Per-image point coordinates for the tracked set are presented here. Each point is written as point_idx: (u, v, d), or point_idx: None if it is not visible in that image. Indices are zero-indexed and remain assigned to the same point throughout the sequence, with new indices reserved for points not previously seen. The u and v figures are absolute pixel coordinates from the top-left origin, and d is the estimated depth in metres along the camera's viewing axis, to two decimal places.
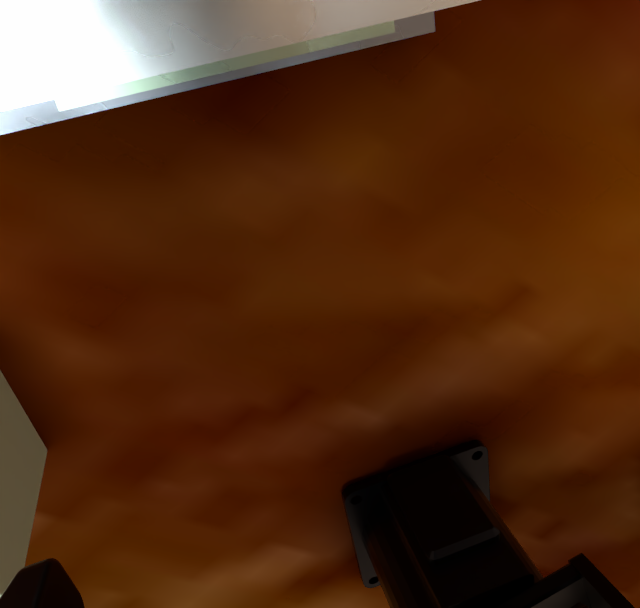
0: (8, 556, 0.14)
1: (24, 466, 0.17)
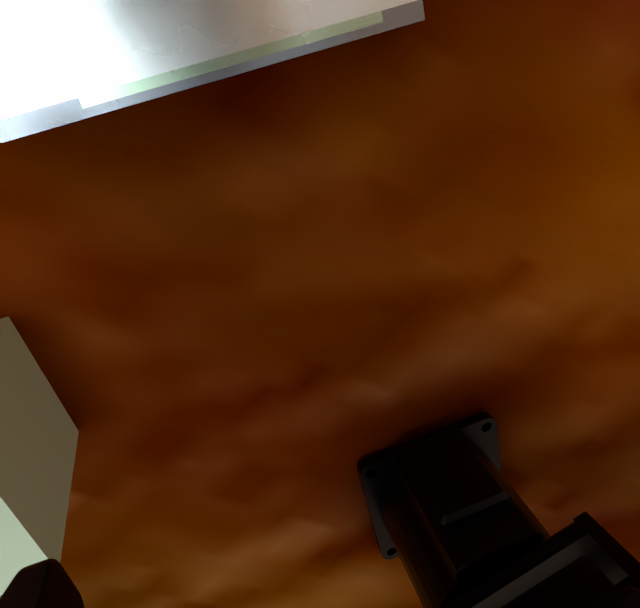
0: (49, 523, 0.16)
1: (59, 444, 0.18)
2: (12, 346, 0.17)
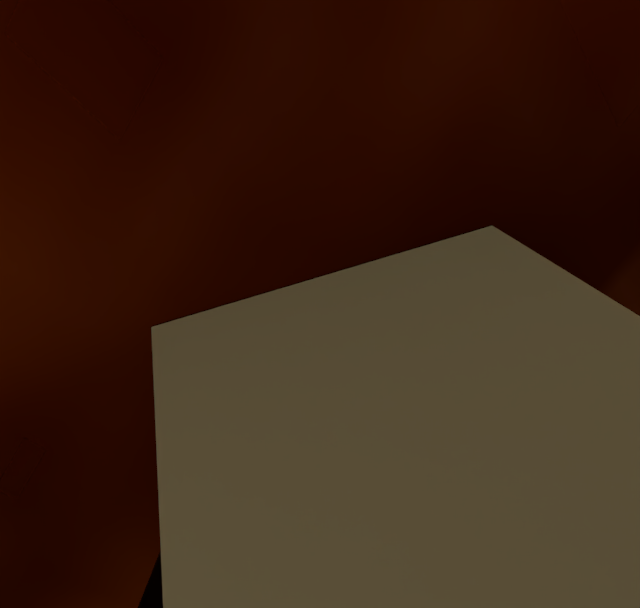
0: None
1: (498, 304, 0.06)
2: (203, 351, 0.07)
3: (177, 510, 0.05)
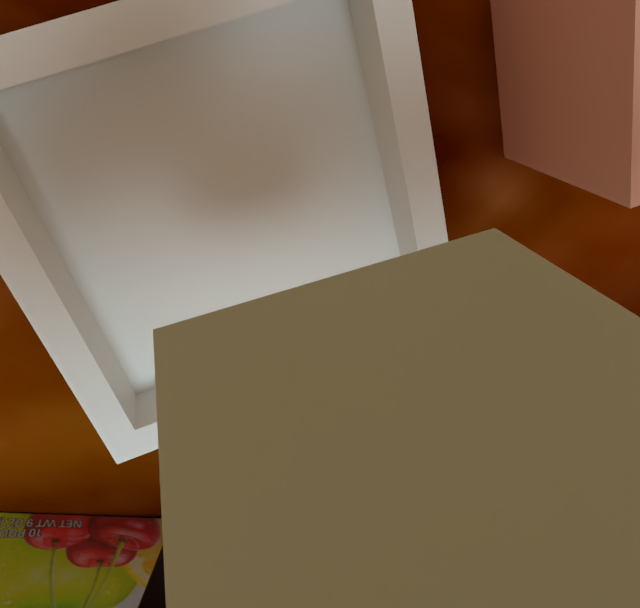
0: None
1: (501, 307, 0.06)
2: (205, 354, 0.07)
3: (180, 515, 0.05)
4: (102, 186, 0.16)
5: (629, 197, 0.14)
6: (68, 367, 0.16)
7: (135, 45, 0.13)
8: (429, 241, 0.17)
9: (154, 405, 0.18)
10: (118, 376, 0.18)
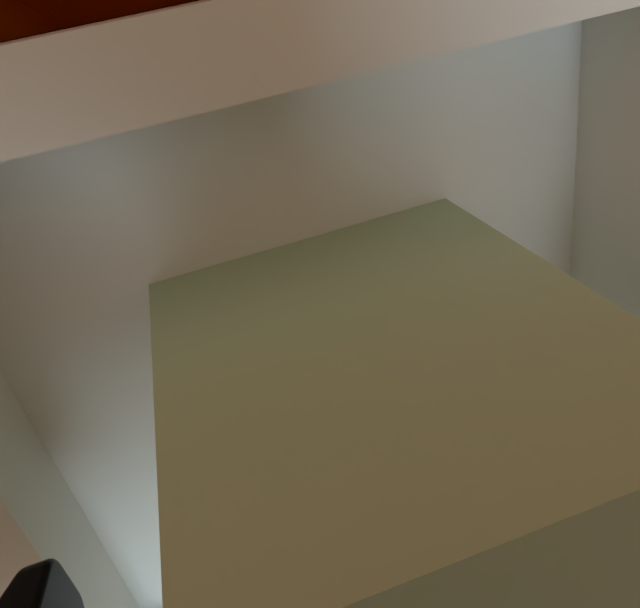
0: (617, 377, 0.05)
1: (439, 258, 0.08)
2: (192, 300, 0.08)
3: (168, 409, 0.06)
4: (122, 325, 0.09)
5: None
6: None
7: (233, 98, 0.06)
8: None
9: None
10: None
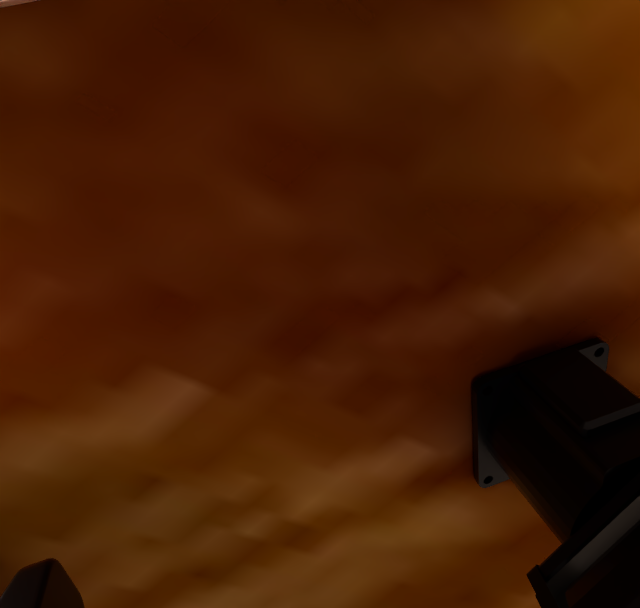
0: None
1: None
2: None
3: None
4: None
5: None
6: None
7: None
8: None
9: None
10: None
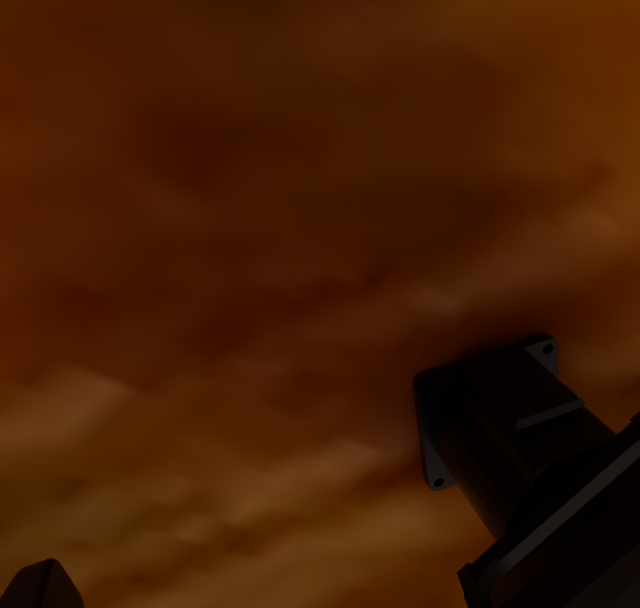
0: None
1: None
2: None
3: None
4: None
5: None
6: None
7: None
8: None
9: None
10: None
